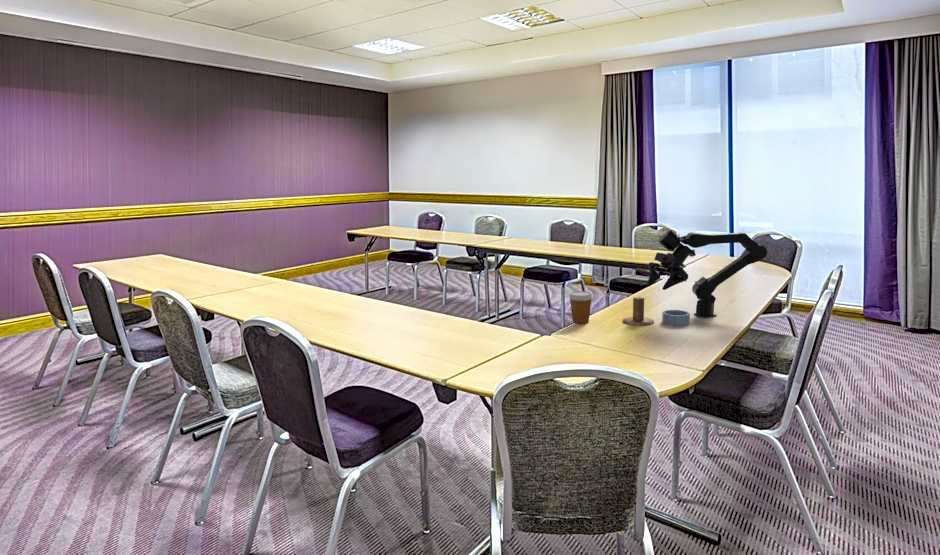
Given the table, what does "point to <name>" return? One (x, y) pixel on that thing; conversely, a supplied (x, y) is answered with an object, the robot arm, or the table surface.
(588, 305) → the disposable coffee cup
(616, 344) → the table surface
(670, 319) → the slate bowl
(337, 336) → the table surface
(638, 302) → the walnut lid
